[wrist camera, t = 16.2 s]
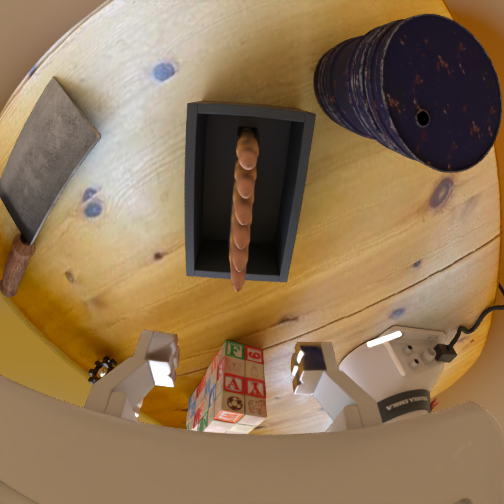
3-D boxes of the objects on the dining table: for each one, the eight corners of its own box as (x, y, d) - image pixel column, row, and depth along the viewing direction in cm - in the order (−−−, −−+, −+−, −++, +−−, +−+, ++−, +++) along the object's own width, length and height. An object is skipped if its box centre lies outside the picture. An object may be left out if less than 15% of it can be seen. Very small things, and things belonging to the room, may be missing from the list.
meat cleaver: (52, 75, 21) (31, 77, 17) (111, 133, 25) (93, 141, 22) (-19, 249, 32) (-32, 261, 29) (21, 290, 37) (9, 305, 33)
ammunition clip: (247, 227, 31) (249, 301, 21) (230, 226, 31) (224, 300, 21) (257, 127, 25) (266, 152, 15) (238, 126, 25) (232, 149, 15)
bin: (300, 109, 25) (315, 114, 19) (279, 247, 33) (286, 282, 27) (200, 100, 24) (187, 103, 19) (196, 241, 32) (186, 276, 27)
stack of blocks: (218, 406, 52) (215, 459, 42) (188, 399, 51) (182, 452, 40) (263, 348, 42) (268, 419, 32) (225, 338, 41) (221, 411, 30)
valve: (154, 390, 50) (119, 354, 44) (148, 418, 44) (108, 384, 38) (129, 392, 50) (94, 357, 44) (123, 418, 45) (83, 385, 39)
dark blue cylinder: (362, 26, 20) (451, -8, 7) (416, 99, 24) (517, 124, 11) (291, 77, 23) (339, 62, 10) (353, 150, 27) (433, 206, 14)
